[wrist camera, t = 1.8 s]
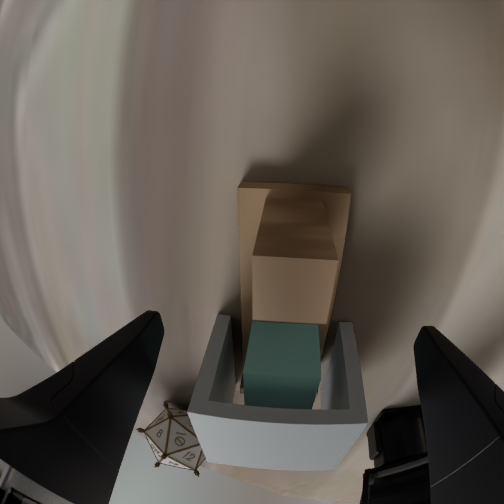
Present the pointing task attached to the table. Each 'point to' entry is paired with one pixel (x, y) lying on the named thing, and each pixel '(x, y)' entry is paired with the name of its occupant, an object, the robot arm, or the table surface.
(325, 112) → the table surface
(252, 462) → the tunnel
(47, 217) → the table surface
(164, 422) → the game die
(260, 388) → the block
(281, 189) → the tan plank with cube
